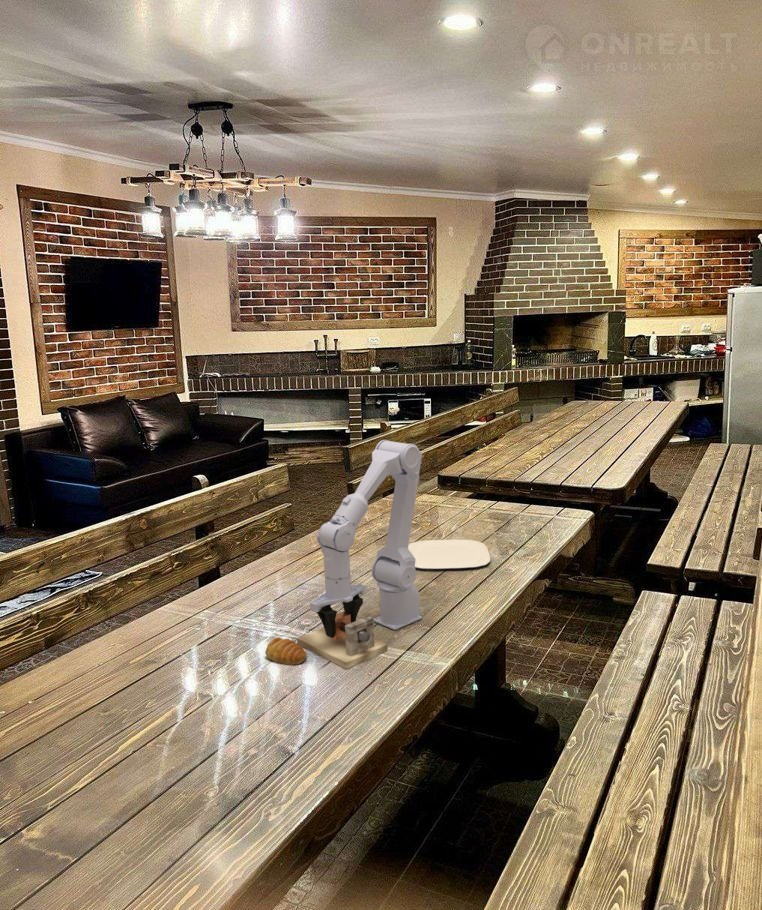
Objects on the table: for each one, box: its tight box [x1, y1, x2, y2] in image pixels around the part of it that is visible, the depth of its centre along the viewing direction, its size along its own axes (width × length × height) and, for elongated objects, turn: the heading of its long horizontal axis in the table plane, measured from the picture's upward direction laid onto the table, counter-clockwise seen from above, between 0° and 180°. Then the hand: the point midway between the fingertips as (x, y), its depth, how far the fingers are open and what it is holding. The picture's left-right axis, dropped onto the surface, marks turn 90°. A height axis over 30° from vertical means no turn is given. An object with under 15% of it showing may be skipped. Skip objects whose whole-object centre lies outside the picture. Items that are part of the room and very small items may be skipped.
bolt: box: [333, 610, 370, 642], centre depth 169 cm, size 4×10×5 cm, turn 43°
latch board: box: [296, 615, 388, 670], centre depth 172 cm, size 12×18×8 cm
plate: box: [408, 538, 491, 570], centre depth 230 cm, size 25×25×2 cm
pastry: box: [264, 637, 307, 666], centre depth 169 cm, size 9×7×4 cm
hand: (340, 632), depth 173 cm, fingers open, 5 cm apart
